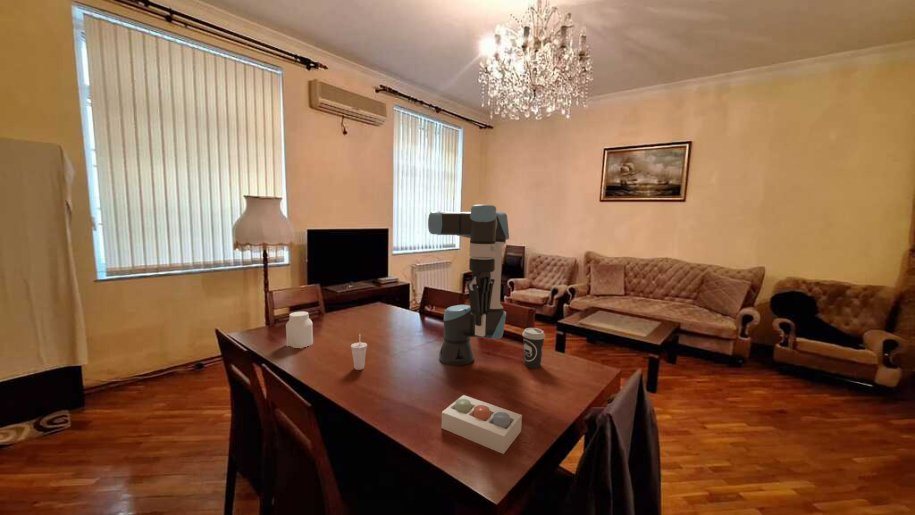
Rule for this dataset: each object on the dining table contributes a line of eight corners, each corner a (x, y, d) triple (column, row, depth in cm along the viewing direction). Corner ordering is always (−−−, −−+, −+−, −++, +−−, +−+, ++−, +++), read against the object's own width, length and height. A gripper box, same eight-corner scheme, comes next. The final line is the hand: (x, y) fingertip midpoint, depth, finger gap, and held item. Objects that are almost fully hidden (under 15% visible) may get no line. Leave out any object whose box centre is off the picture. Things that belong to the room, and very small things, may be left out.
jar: (316, 343, 167) (315, 313, 165) (298, 350, 159) (297, 318, 157) (301, 339, 172) (300, 309, 171) (283, 345, 164) (281, 314, 162)
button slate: (490, 437, 98) (490, 417, 97) (497, 429, 101) (498, 410, 101) (504, 443, 95) (505, 423, 94) (511, 435, 99) (512, 415, 98)
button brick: (470, 429, 101) (470, 410, 100) (478, 422, 105) (478, 403, 104) (484, 435, 98) (485, 415, 98) (491, 427, 102) (492, 408, 102)
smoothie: (370, 366, 143) (370, 333, 141) (360, 372, 137) (359, 338, 135) (358, 363, 146) (358, 331, 144) (347, 369, 140) (347, 335, 138)
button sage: (452, 422, 104) (452, 403, 104) (460, 415, 108) (460, 397, 108) (465, 427, 102) (465, 408, 101) (473, 420, 106) (473, 401, 105)
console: (441, 428, 102) (441, 412, 101) (463, 409, 112) (463, 394, 112) (503, 454, 91) (504, 436, 91) (521, 431, 101) (521, 415, 101)
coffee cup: (544, 371, 142) (546, 335, 140) (520, 368, 144) (522, 333, 142) (543, 361, 151) (545, 328, 149) (521, 359, 153) (522, 326, 151)
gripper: (482, 260, 95) (480, 344, 98) (503, 256, 106) (500, 331, 108) (459, 258, 99) (457, 338, 102) (481, 255, 110) (479, 327, 112)
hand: (480, 335), depth 105 cm, fingers closed
